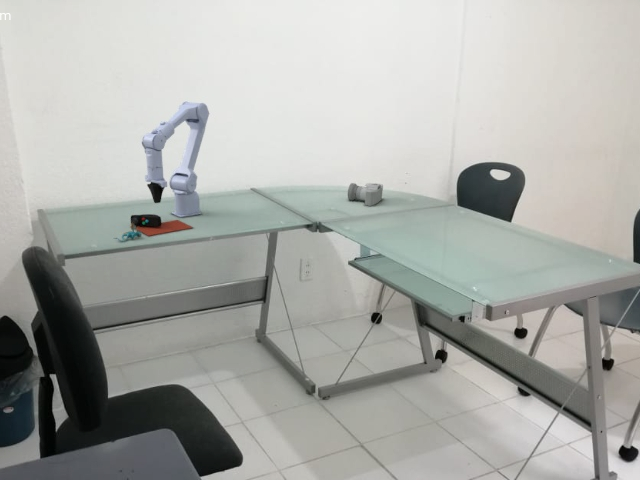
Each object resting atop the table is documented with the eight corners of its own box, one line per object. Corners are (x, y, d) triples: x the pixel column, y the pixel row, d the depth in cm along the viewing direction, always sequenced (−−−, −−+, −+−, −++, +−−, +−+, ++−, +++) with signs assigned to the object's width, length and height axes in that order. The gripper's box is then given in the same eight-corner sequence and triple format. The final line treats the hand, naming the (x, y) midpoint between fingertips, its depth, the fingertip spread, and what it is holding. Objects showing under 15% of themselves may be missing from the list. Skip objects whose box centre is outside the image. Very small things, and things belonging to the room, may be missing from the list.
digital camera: (359, 203, 281) (362, 181, 279) (386, 207, 273) (389, 185, 271) (341, 202, 268) (344, 179, 266) (369, 206, 260) (373, 182, 258)
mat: (177, 220, 236) (177, 219, 235) (192, 228, 227) (192, 227, 227) (134, 228, 225) (134, 227, 225) (148, 236, 217) (148, 235, 216)
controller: (140, 212, 233) (126, 215, 224) (169, 213, 229) (155, 216, 220) (141, 223, 234) (127, 226, 225) (169, 224, 230) (156, 228, 221)
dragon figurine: (132, 241, 207) (144, 227, 212) (113, 232, 207) (125, 218, 212) (131, 253, 212) (142, 239, 217) (112, 244, 212) (124, 230, 217)
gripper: (136, 164, 227) (139, 199, 233) (153, 171, 217) (156, 208, 222) (153, 162, 231) (156, 197, 237) (171, 169, 221) (173, 205, 226)
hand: (157, 202), depth 230 cm, fingers closed
